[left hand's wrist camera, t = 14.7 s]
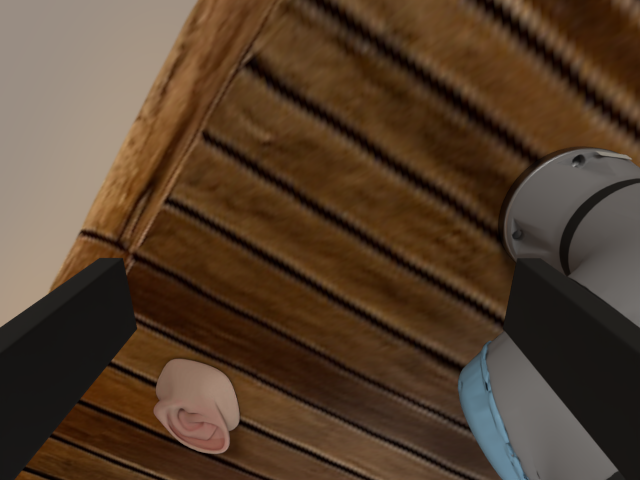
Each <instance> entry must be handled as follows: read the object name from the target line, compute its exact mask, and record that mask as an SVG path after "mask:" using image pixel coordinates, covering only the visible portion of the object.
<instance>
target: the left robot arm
mask: <svg viewBox="0 0 640 480" xmlns="http://www.w3.org/2000/svg"><path fill="white" fill-rule="evenodd" d="M629 159H631V158H630V157H628V156H627V155H622V154H618V153H616V152H613V151H610V150H605V149H599V148H593V147H571V148H566V149H562V150H559V151H556V152H553V153H551V154H549V155H547V156H545V157H543V158H541V159H539V160H538V161H536V162H535V163H534V164H532V165H531V166H530V167H528V168H527V169H526V170H525V171H524V172H523V173H522V174H521V175H520V176H519V177H518V178H517V180H516V181H515V182H514V183H513V185H512V186H511V188H510V189H509V191H508V193H507V195H506V197H505V199H504V202H503V204H502V208H501V211H500V217H499V233H500V238H501V241H502V244H503V246H504V248H505V250H506V252H507V253H508V255H509V256H510V257H511V258H512V259H513V260H514V261H515V262H516V267H515V271H514V276H513V281H512V286H511V291H510V296H509V301H508V306H507V311H506V316H505V321H504V326H503V330H504V331H503V332H502V333H501V334H500V335H499V336H498V337H496V338H495V339H494V340H493V341H489V342H487V343H486V344H485V345H484V346H483V349H482V351H481V352H480V353H479V354H478V355H477V356H475V357H474V358H473V359H472V360H471V361H470V362H469V363H468V364H467V365H466V366H465V367H464V368H463V370H462V372H461V373H460V376H459V380H458V391H459V398H460V403H461V406H462V410H463V413H464V415H465V418H466V420H467V422H468V425H469V427H470V429H471V431H472V433H473V435H474V437H475V439H476V441H477V442H478V444H479V446H480V448H481V449H482V451H483V453H484V454H485V456H486V457H487V459H488V461H489V462H490V464H491V465H492V466H493V468H494V469H495V471H496V472H497V473H498V475H499V476H500V477H501V479H502V480H640V168H639V167H638V166H637V165H635V164H634V163H633V162H631V161H630V160H629ZM136 330H137V326H136V321H135V316H134V311H133V306H132V301H131V296H130V291H129V286H128V281H127V276H126V271H125V267H124V262H123V258H99V259H98V260H96V261H95V262H93V263H92V264H91V265H89V266H88V267H86V268H85V269H83V270H82V271H81V272H79V273H78V274H76V275H75V276H73V277H72V278H70V279H69V280H68V281H66V282H65V283H63V284H62V285H60V286H59V287H58V288H56V289H55V290H53V291H52V292H50V293H49V294H48V295H46V296H45V297H43V298H42V299H40V300H39V301H38V302H36V303H35V304H33V305H32V306H30V307H29V308H28V309H26V310H25V311H23V312H22V313H20V314H19V315H18V316H16V317H15V318H13V319H12V320H10V321H9V322H8V323H6V324H5V325H3V326H2V327H0V480H14V479H15V478H16V477H17V476H18V474H19V473H20V472H21V471H22V470H23V468H24V467H25V466H26V465H27V463H28V462H29V461H30V460H31V458H32V457H33V456H34V455H35V454H36V452H37V451H38V450H39V449H40V447H41V446H42V445H43V444H44V443H45V441H46V440H47V439H48V438H49V436H50V435H51V434H52V433H53V431H54V430H55V429H56V428H57V427H58V425H59V424H60V423H61V422H62V420H63V419H64V418H65V417H66V415H67V414H68V413H69V412H70V411H71V409H72V408H73V407H74V406H75V404H76V403H77V402H78V401H79V400H80V398H81V397H82V396H83V395H84V393H85V392H86V391H87V390H88V388H89V387H90V386H91V385H92V384H93V382H94V381H95V380H96V379H97V377H98V376H99V375H100V374H101V373H102V371H103V370H104V369H105V368H106V366H107V365H108V364H109V363H110V361H111V360H112V359H113V358H114V357H115V355H116V354H117V353H118V352H119V350H120V349H121V348H122V347H123V346H124V344H125V343H126V342H127V341H128V339H129V338H130V337H131V336H132V334H133V333H134V332H135V331H136Z"/></svg>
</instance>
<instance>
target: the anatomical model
mask: <svg viewBox="0 0 640 480" xmlns="http://www.w3.org/2000/svg"><path fill="white" fill-rule="evenodd" d="M156 394H157V397H158V398H159V400H160V401H159V402H158V403H157V404H156V405H155V407H154V414H155V416H156V417H157V418H158V419H159V421H160V422H161V423H162V424H163V425H164V426H165V428H166V429H167V430H168V431H169V432H170V433H171V434H172V435H173V436H174V437H175V438H176V439H177V440H178V441H180V442H181V443H182V444H184V445H186V446H188V447H190V448H192V449H195V450H197V451H200V452H204V453H211V454H217V453H222V452H225V451H226V450H227V449H228V447H229V443H230V436H229V431H231V430H233V429H234V428H235V427H237V425H238V423H239V407H238V402H237V398H236V394H235V391H234V389H233V386H232V384H231V382H230V380H229V379H228V377H227V376H226V375H225V374H224V373H222V372H221V371H219V370H218V369H216V368H213V367H211V366H209V365H206V364H203V363H199V362H196V361H191V360H186V359H173V360H171V361H169V362H168V363H167V364H166V366H165V367H164V369H163V371H162V373H161V375H160V377H159V379H158V382H157V386H156Z"/></svg>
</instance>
